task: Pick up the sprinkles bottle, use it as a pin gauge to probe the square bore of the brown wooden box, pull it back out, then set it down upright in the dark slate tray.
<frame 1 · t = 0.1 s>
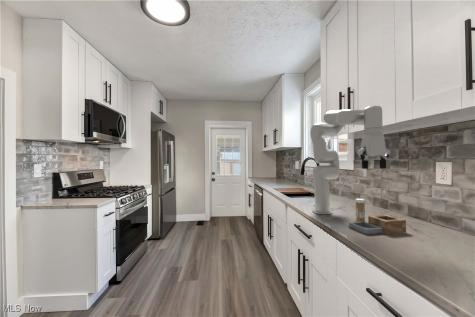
hand: (374, 168, 105), 31 cm above the worktop, fingers open, 9 cm apart
tray: (365, 230, 110), on the worktop
sprinkles bottle: (360, 223, 122), on the worktop
brown wooden box: (386, 230, 110), on the worktop
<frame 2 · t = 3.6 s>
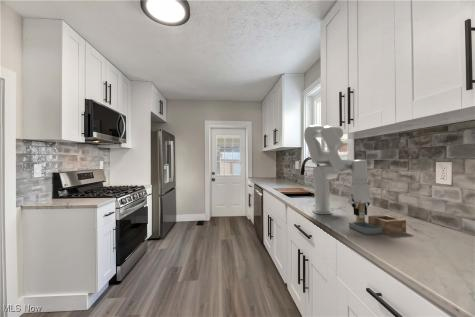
hand: (360, 214, 122), 5 cm above the worktop, fingers closed on sprinkles bottle, 4 cm apart
sprinkles bottle: (360, 223, 122), on the worktop, touching gripper
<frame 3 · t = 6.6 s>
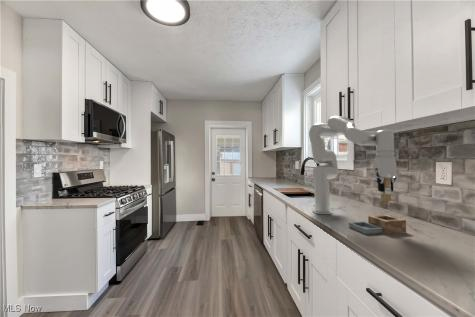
hand: (385, 190, 110), 20 cm above the worktop, fingers closed on sprinkles bottle, 4 cm apart
sprinkles bottle: (385, 200, 110), point 15 cm above the worktop, touching gripper
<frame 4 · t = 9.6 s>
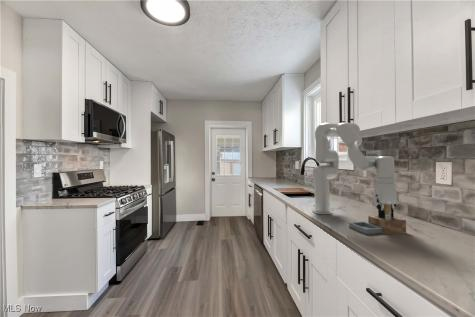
hand: (385, 216, 110), 6 cm above the worktop, fingers closed on sprinkles bottle, 4 cm apart
sprinkles bottle: (386, 227, 110), point 1 cm above the worktop, touching gripper
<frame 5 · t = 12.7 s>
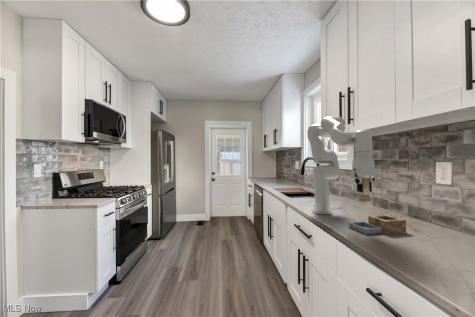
hand: (364, 191, 110), 20 cm above the worktop, fingers closed on sprinkles bottle, 4 cm apart
sprinkles bottle: (364, 201, 110), point 15 cm above the worktop, touching gripper
when the fingers open (7 cm above the worktop, at t = 15.6 s): sprinkles bottle drops 1 cm, resting on tray.
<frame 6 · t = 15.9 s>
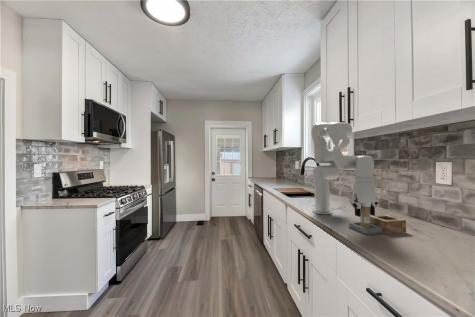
hand: (364, 215, 110), 7 cm above the worktop, fingers open, 7 cm apart
sprinkles bottle: (364, 229, 110), resting on tray
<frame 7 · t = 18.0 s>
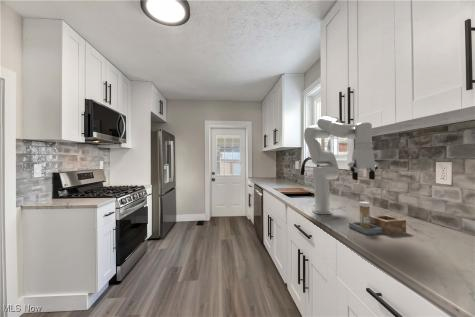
hand: (363, 179, 114), 25 cm above the worktop, fingers open, 9 cm apart
nothing on the worktop moved.
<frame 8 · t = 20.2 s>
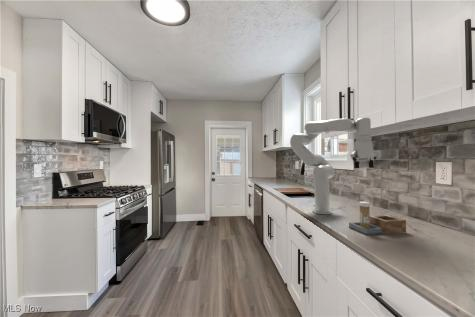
hand: (364, 168, 130), 30 cm above the worktop, fingers open, 9 cm apart
nothing on the worktop moved.
at the end: sprinkles bottle inside the target area on the tray (0.1 cm from its centre), point 0.4 cm above the tray's base; sprinkles bottle tilted 0°; the gripper is holding nothing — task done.
